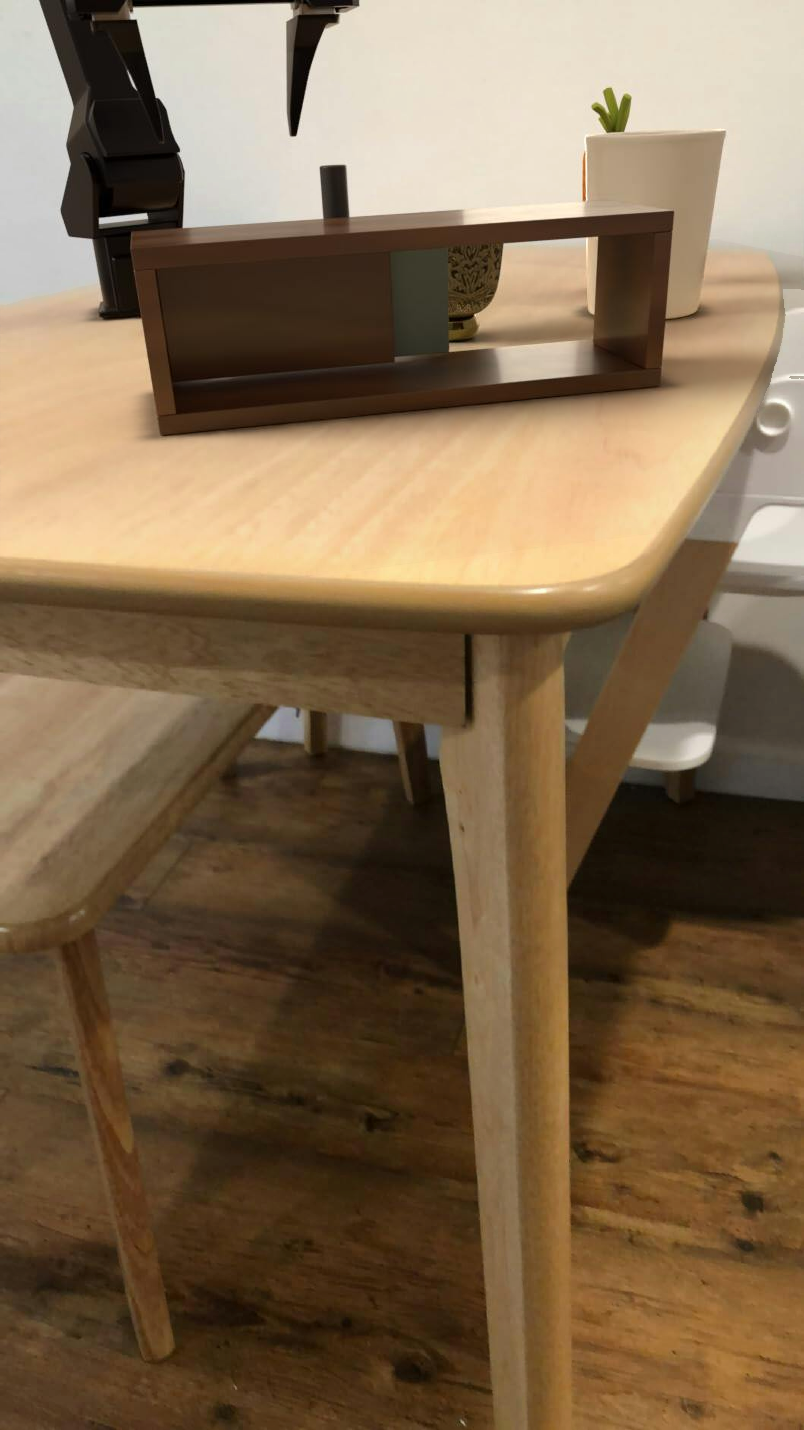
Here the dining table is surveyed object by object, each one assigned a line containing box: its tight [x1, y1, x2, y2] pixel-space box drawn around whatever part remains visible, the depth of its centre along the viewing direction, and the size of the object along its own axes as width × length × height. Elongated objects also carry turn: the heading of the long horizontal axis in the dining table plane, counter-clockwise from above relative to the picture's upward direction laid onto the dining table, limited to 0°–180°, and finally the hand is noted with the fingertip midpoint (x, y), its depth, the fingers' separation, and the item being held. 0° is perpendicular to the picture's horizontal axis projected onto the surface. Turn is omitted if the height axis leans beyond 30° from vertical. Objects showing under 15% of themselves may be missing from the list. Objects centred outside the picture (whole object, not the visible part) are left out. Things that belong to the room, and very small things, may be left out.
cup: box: [447, 243, 505, 342], centre depth 72 cm, size 8×7×8 cm
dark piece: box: [319, 164, 450, 357], centre depth 62 cm, size 5×13×10 cm, turn 103°
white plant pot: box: [584, 128, 727, 320], centre depth 77 cm, size 10×10×12 cm
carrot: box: [581, 87, 633, 202], centre depth 87 cm, size 5×5×15 cm
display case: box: [131, 200, 674, 436], centre depth 59 cm, size 10×28×9 cm, turn 103°
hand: (227, 139), depth 73 cm, fingers open, 9 cm apart
